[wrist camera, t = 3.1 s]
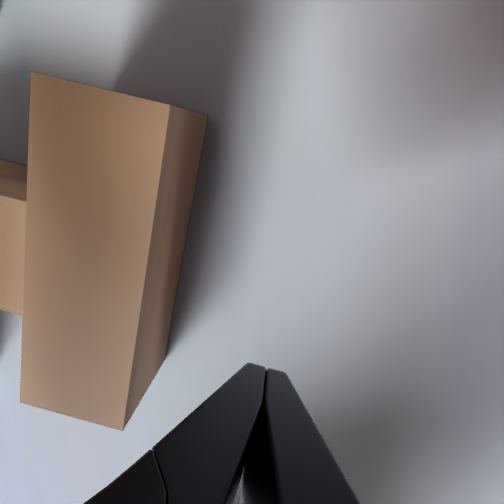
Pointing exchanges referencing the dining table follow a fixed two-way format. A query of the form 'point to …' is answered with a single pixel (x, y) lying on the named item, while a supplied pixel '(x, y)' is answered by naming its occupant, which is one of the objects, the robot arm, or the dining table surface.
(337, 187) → the dining table surface
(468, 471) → the dining table surface
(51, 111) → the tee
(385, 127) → the dining table surface
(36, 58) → the dining table surface
